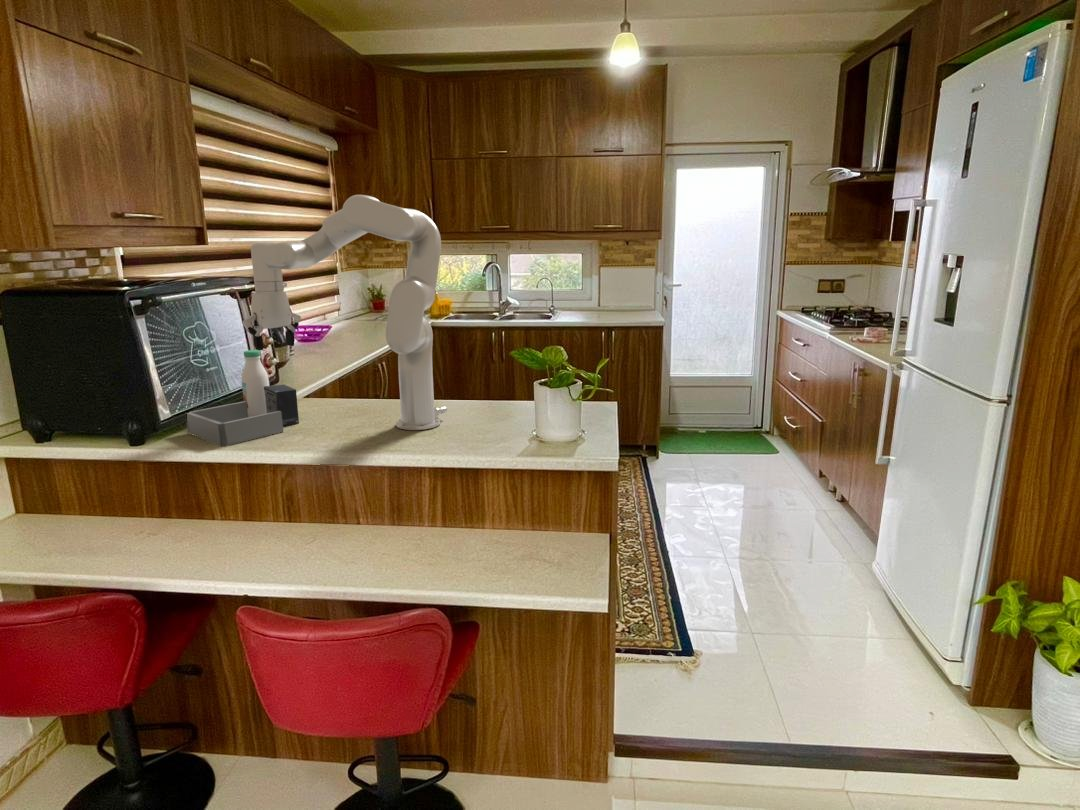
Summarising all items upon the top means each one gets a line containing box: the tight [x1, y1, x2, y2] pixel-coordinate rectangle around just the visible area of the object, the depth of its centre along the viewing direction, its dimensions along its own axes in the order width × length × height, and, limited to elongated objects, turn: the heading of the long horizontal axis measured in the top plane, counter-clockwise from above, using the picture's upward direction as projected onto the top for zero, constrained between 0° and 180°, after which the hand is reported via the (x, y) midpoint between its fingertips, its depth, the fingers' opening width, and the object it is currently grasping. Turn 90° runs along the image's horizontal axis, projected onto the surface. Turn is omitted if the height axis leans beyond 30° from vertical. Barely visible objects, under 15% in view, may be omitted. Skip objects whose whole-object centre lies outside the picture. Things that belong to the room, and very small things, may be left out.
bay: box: [185, 400, 284, 447], centre depth 186 cm, size 17×20×6 cm
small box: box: [264, 384, 300, 427], centre depth 197 cm, size 11×6×10 cm, turn 40°
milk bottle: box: [241, 349, 270, 417], centre depth 204 cm, size 8×8×20 cm
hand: (275, 347), depth 193 cm, fingers open, 9 cm apart
